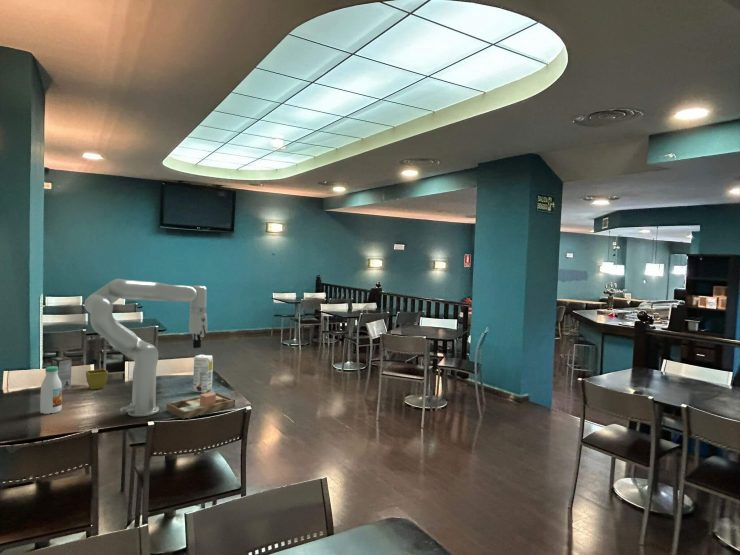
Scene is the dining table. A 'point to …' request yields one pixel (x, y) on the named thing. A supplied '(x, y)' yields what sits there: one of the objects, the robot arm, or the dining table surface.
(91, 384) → the flower pot
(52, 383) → the milk bottle
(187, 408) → the tray
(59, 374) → the coffee box
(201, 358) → the juice carton
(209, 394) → the block
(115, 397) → the dining table surface
